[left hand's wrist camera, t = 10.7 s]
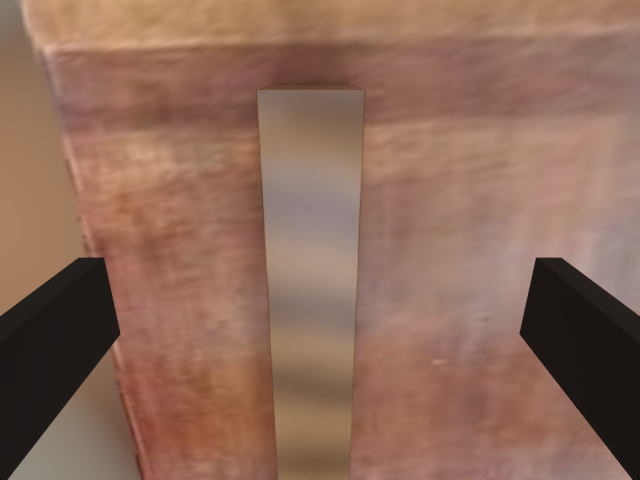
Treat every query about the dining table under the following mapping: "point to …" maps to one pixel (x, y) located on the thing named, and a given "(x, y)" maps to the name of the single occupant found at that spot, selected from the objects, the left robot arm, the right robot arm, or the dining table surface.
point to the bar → (312, 268)
